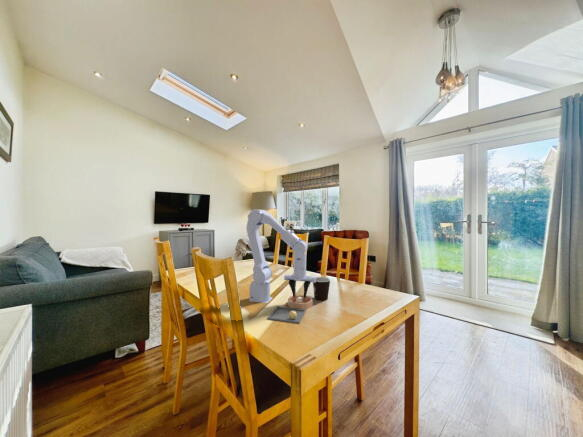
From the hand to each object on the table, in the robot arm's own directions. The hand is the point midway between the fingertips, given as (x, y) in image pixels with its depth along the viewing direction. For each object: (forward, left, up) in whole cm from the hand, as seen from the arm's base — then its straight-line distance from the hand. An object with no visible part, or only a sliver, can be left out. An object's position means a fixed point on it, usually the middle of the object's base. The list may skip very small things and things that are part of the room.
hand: (299, 296), depth 108 cm
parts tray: (-2, -13, -4) cm, 14 cm away
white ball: (0, 0, -3) cm, 3 cm away
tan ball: (+1, -16, -3) cm, 16 cm away
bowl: (+1, 0, -4) cm, 4 cm away
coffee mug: (+9, +12, -4) cm, 15 cm away
